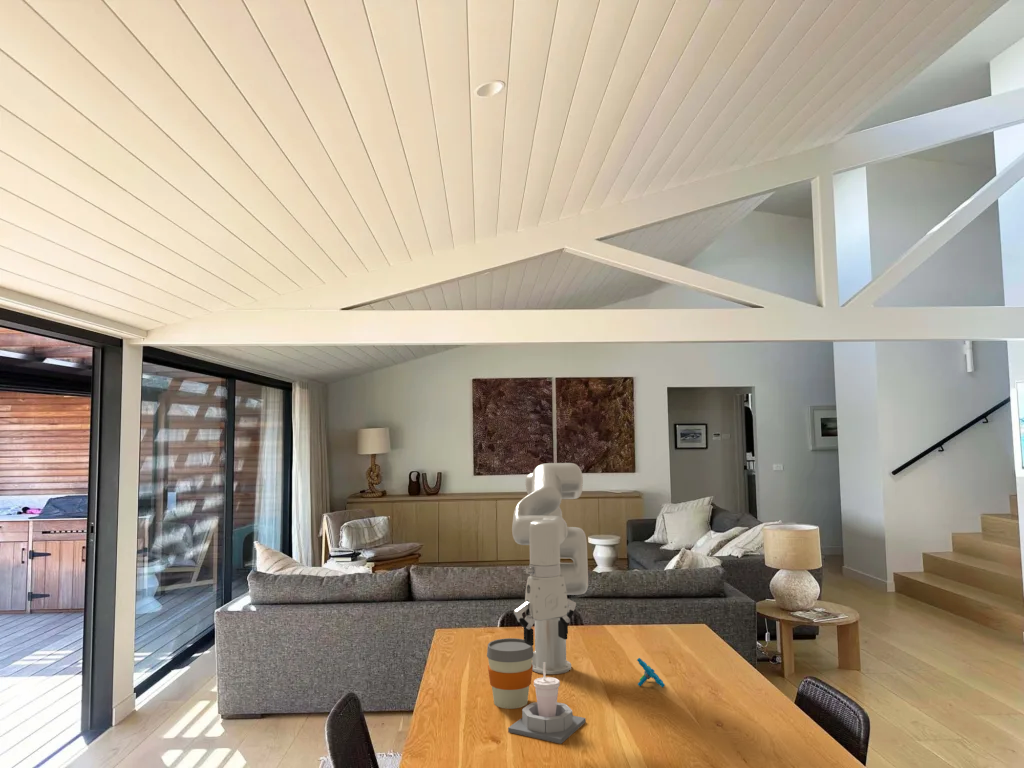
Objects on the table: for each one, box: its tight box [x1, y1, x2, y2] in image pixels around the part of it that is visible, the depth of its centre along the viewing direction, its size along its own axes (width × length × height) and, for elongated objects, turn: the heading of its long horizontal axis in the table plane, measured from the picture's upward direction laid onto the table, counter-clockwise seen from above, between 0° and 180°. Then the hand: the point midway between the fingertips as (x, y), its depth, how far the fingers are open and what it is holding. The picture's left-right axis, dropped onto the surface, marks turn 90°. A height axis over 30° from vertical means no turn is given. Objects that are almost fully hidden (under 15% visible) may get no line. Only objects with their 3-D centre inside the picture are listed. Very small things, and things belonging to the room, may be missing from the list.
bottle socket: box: [507, 701, 587, 745], centre depth 170 cm, size 14×14×4 cm
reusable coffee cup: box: [486, 637, 534, 710], centre depth 187 cm, size 13×13×15 cm
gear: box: [636, 657, 666, 688], centre depth 198 cm, size 11×6×10 cm
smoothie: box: [533, 662, 561, 717], centre depth 171 cm, size 6×6×14 cm
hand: (546, 641), depth 172 cm, fingers open, 9 cm apart
